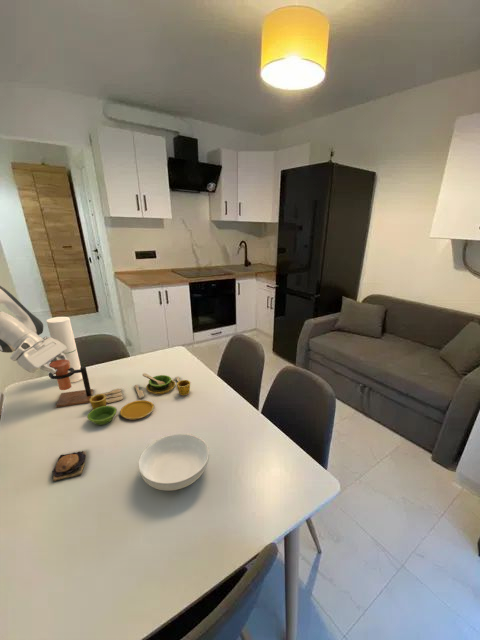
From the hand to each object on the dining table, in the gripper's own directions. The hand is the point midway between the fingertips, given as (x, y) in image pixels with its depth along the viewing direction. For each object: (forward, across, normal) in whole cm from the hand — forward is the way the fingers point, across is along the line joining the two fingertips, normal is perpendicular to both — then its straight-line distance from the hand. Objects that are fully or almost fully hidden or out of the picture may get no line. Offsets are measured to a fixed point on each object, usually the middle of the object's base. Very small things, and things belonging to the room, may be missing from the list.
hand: (61, 367), depth 118 cm
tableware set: (+33, 0, +11) cm, 34 cm away
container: (+5, -18, -17) cm, 26 cm away
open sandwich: (+26, +37, +4) cm, 45 cm away
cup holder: (+12, -1, -10) cm, 16 cm away
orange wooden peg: (+6, 0, -7) cm, 9 cm away
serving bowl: (+49, +39, +27) cm, 69 cm away
